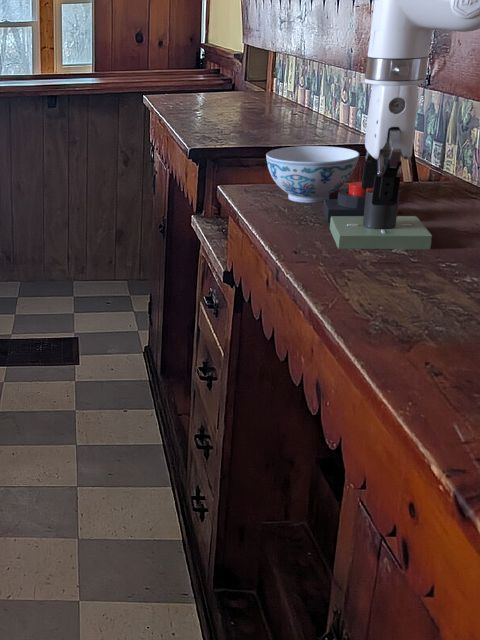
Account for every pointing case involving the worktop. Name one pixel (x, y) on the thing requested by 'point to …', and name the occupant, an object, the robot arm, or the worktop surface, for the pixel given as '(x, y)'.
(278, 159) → the chinaware
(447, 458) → the worktop surface
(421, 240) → the console
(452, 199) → the worktop surface
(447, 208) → the worktop surface
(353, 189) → the button
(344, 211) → the switch block
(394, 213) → the dark grey cylinder
